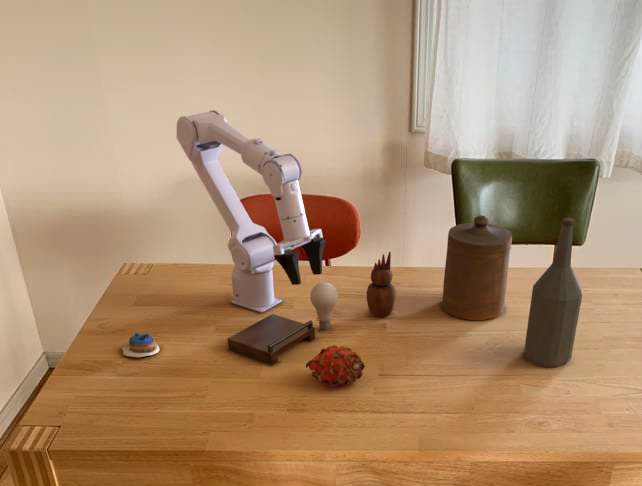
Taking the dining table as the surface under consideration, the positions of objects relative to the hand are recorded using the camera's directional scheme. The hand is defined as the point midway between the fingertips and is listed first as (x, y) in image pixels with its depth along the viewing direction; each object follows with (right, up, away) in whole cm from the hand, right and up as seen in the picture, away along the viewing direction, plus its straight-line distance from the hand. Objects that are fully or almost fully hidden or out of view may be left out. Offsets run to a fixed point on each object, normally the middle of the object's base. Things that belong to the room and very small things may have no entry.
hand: (307, 279), depth 175 cm
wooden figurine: (+16, -6, +12) cm, 21 cm away
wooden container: (+38, -3, +16) cm, 41 cm away
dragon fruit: (+7, -25, -14) cm, 30 cm away
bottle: (+52, -18, -4) cm, 55 cm away
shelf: (-7, -15, -2) cm, 17 cm away
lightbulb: (+4, -10, +5) cm, 12 cm away
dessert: (-35, -17, -6) cm, 39 cm away
